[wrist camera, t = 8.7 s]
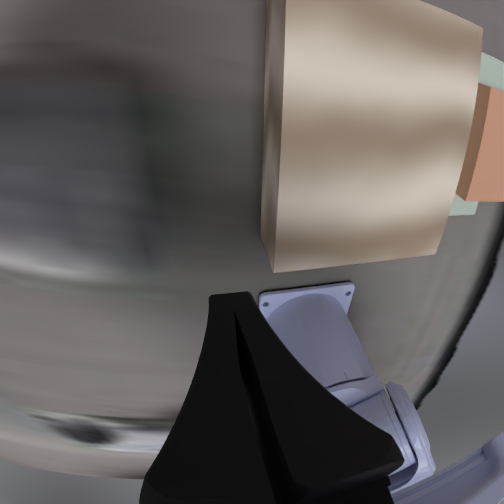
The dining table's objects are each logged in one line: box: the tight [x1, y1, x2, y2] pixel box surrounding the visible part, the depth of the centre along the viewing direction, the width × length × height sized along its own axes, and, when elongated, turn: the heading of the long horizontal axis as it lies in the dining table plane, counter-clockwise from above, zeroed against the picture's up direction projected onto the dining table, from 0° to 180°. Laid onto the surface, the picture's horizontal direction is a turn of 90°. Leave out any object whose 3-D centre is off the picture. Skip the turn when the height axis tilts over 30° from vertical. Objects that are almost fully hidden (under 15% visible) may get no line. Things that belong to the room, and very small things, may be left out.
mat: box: [449, 52, 504, 216], centre depth 19 cm, size 14×8×1 cm, turn 179°
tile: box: [455, 83, 504, 201], centre depth 19 cm, size 9×6×2 cm, turn 0°
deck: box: [260, 0, 483, 273], centre depth 17 cm, size 16×12×4 cm
